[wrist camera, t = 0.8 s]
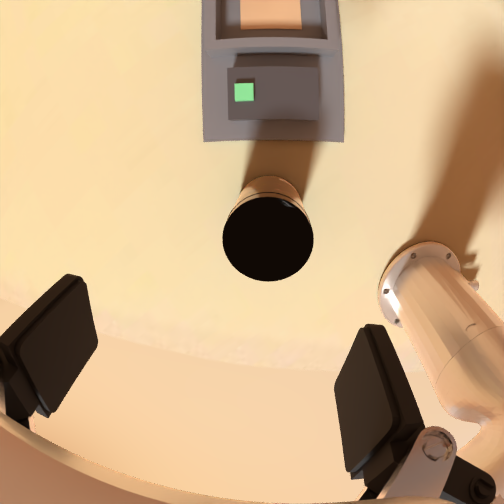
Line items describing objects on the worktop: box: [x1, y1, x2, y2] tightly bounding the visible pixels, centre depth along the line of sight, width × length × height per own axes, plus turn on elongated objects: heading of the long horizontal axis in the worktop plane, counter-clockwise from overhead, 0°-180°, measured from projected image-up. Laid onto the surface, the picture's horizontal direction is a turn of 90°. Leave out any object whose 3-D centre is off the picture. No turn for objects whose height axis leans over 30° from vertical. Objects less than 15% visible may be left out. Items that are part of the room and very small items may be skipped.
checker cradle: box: [202, 0, 344, 142], centre depth 21 cm, size 14×22×5 cm, turn 1°
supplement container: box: [223, 176, 314, 281], centre depth 26 cm, size 7×7×10 cm
